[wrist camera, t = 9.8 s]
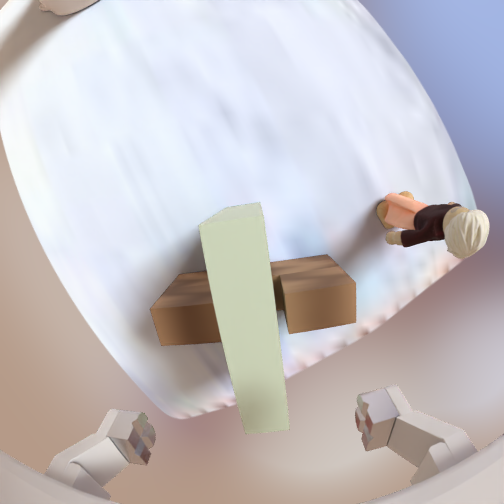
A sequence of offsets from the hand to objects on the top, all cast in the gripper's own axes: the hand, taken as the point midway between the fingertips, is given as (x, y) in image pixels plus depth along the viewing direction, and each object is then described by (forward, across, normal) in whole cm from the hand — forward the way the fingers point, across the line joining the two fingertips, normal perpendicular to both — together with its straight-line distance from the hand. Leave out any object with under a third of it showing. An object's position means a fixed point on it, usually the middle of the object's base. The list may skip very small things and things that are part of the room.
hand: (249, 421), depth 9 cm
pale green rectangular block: (+17, 0, +1) cm, 17 cm away
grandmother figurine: (+18, -14, -4) cm, 23 cm away
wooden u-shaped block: (+17, 0, +1) cm, 17 cm away
